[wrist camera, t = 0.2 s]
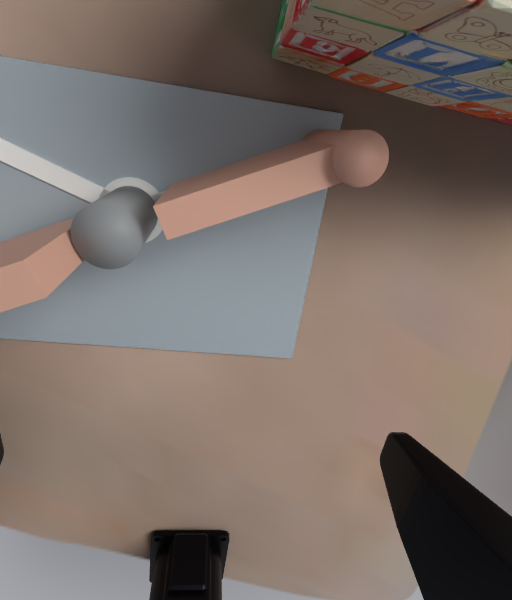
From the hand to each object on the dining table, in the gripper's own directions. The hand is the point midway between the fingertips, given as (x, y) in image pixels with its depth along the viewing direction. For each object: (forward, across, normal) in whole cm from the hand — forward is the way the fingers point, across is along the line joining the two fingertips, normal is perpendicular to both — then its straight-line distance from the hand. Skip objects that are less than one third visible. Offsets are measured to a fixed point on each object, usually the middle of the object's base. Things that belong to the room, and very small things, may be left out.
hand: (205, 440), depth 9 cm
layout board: (+15, +6, 0) cm, 16 cm away
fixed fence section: (+15, -2, -4) cm, 15 cm away
